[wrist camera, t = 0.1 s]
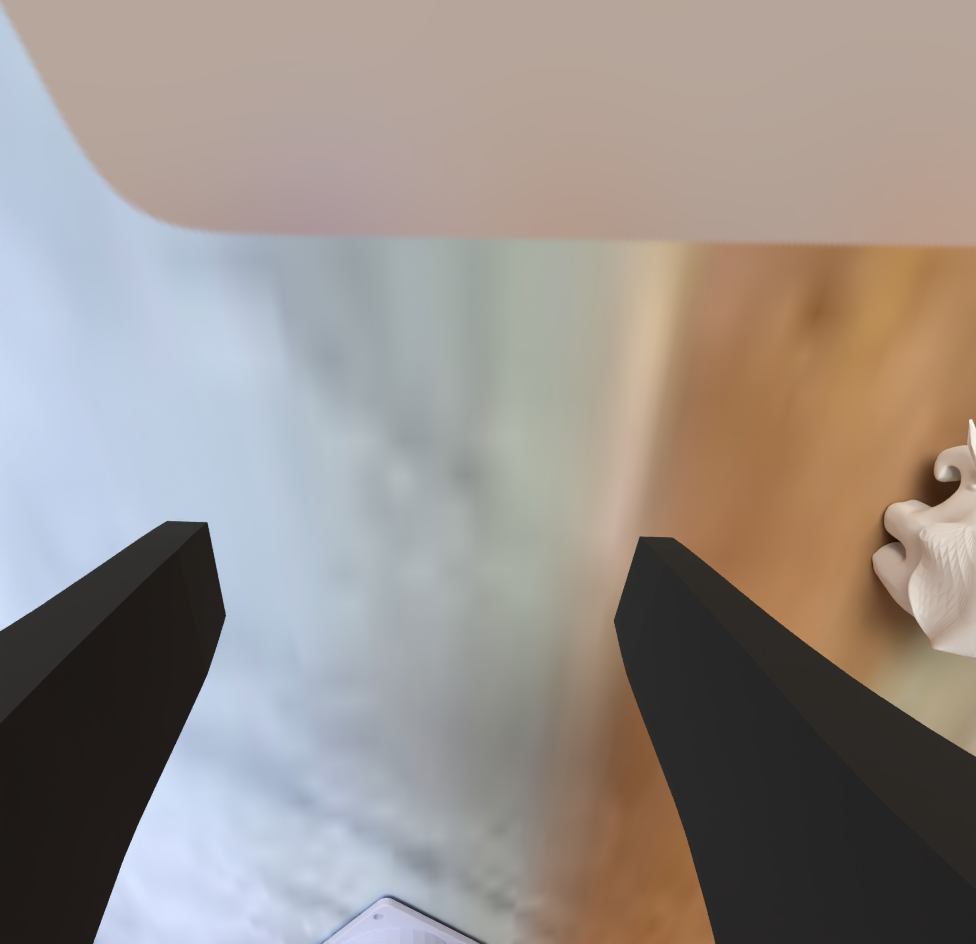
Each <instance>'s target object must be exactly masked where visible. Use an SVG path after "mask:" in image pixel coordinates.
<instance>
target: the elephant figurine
mask: <svg viewBox="0 0 976 944" xmlns="http://www.w3.org/2000/svg"><path fill="white" fill-rule="evenodd" d="M934 475H935V478H936V479H937V480H938V481H940V482H949V481H957V480H961V484H960V486H959V488H958V490H957V491H956V492H955V493H954V494H953V495H952V496H951V497H950V498H948V499H947V500H946V501H944V502H943V503H941V504H939V505H937V506H935V507H930V506H928V505H926V504H924V503H922V502H920V501H917V500H909V501H906V502H898V503H894V504H892V505H890V506H889V507H888V508H887V510H886V512H885V516H884V526H885V528H886V530H887V531H888V532H889V533H890V534H891V535H892V536H894V537H895V538H896V539H898V540H899V541H900V542H892V543H889V544H887V545H885V546H883V547H881V548H880V549H879V550H878V551H876V552H875V553H874V555H873V557H872V561H873V568H874V571H875V573H876V574H877V576H878V577H879V579H880V580H881V582H882V583H883V585H884V586H885V587H886V589H887V590H888V592H889V593H890V595H891V596H892V597H893V599H894V600H895V601H896V602H897V603H898V604H899V605H900V606H901V607H902V608H903V609H904V610H906V611H907V612H908V613H910V614H911V615H912V616H914V617H915V618H916V620H917V622H918V624H919V625H920V627H921V628H922V629H923V631H924V632H925V634H926V635H927V636H928V638H929V640H930V642H931V647H932V648H934V649H936V650H941V651H945V652H950V653H954V654H958V655H962V656H967V657H973V658H976V428H975V426H974V423H973V421H972V419H971V420H969V431H968V444H967V445H964V446H956V447H952V448H949V449H946V450H944V451H943V452H941V453H940V454H939V456H938V457H937V459H936V462H935V465H934Z"/></svg>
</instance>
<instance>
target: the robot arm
mask: <svg viewBox="0 0 976 944" xmlns="http://www.w3.org/2000/svg"><path fill="white" fill-rule="evenodd" d="M225 617H226V614H225V609H224V603H223V598H222V593H221V588H220V583H219V578H218V573H217V568H216V563H215V558H214V553H213V548H212V543H211V538H210V533H209V528H208V523H207V522H181V521H166V522H165V523H163V524H161V525H160V526H158V527H156V528H155V529H153V530H152V531H150V532H149V533H147V534H146V535H144V536H143V537H141V538H140V539H138V540H137V541H135V542H134V543H132V544H131V545H129V546H128V547H126V548H125V549H124V550H122V551H121V552H119V553H118V554H116V555H115V556H113V557H112V558H110V559H109V560H108V561H106V562H105V563H103V564H102V565H100V566H99V567H97V568H96V569H94V570H93V571H91V572H90V573H89V574H87V575H86V576H84V577H83V578H81V579H80V580H78V581H77V582H75V583H74V584H72V585H71V586H69V587H68V588H66V589H65V590H63V591H62V592H60V593H59V594H57V595H56V596H54V597H53V598H51V599H50V600H48V601H47V602H45V603H44V604H43V605H41V606H40V607H38V608H36V609H35V610H33V611H32V612H30V613H29V614H27V615H26V616H24V617H22V618H21V619H19V620H18V621H16V622H14V623H13V624H11V625H10V626H8V627H6V628H5V629H3V630H2V631H0V944H93V942H94V939H95V937H96V934H97V931H98V928H99V926H100V923H101V920H102V917H103V915H104V912H105V909H106V906H107V904H108V901H109V898H110V895H111V893H112V890H113V887H114V884H115V881H116V879H117V876H118V873H119V870H120V868H121V865H122V862H123V859H124V857H125V854H126V852H127V850H128V847H129V845H130V843H131V840H132V838H133V835H134V833H135V831H136V828H137V826H138V824H139V821H140V819H141V817H142V815H143V813H144V810H145V808H146V806H147V804H148V802H149V800H150V798H151V795H152V793H153V791H154V789H155V787H156V785H157V783H158V780H159V778H160V776H161V774H162V772H163V770H164V768H165V765H166V763H167V761H168V759H169V757H170V755H171V753H172V750H173V748H174V746H175V744H176V742H177V740H178V738H179V736H180V733H181V731H182V729H183V727H184V725H185V723H186V720H187V718H188V716H189V714H190V712H191V710H192V707H193V705H194V703H195V701H196V699H197V696H198V694H199V692H200V690H201V688H202V685H203V683H204V681H205V679H206V676H207V674H208V671H209V668H210V665H211V662H212V659H213V656H214V653H215V650H216V647H217V644H218V640H219V637H220V634H221V630H222V627H223V624H224V620H225ZM614 623H615V628H616V632H617V637H618V641H619V646H620V650H621V654H622V658H623V662H624V666H625V670H626V674H627V677H628V679H629V682H630V685H631V688H632V691H633V693H634V696H635V699H636V701H637V704H638V707H639V709H640V712H641V715H642V717H643V720H644V723H645V725H646V728H647V730H648V733H649V736H650V738H651V741H652V744H653V746H654V749H655V751H656V754H657V757H658V759H659V762H660V764H661V767H662V770H663V772H664V775H665V778H666V780H667V783H668V785H669V788H670V791H671V793H672V796H673V799H674V801H675V804H676V807H677V810H678V813H679V816H680V819H681V822H682V824H683V827H684V830H685V833H686V837H687V840H688V844H689V847H690V851H691V854H692V858H693V861H694V865H695V868H696V872H697V876H698V879H699V883H700V886H701V890H702V893H703V897H704V900H705V904H706V908H707V912H708V916H709V919H710V923H711V927H712V931H713V935H714V939H715V943H716V944H976V757H975V756H974V755H972V754H970V753H968V752H967V751H965V750H963V749H962V748H960V747H959V746H957V745H955V744H954V743H952V742H950V741H949V740H947V739H945V738H944V737H942V736H941V735H939V734H937V733H936V732H934V731H932V730H931V729H929V728H928V727H926V726H925V725H923V724H922V723H920V722H919V721H917V720H915V719H914V718H912V717H911V716H909V715H908V714H906V713H905V712H903V711H902V710H900V709H899V708H897V707H896V706H894V705H893V704H891V703H889V702H888V701H886V700H885V699H883V698H882V697H880V696H879V695H877V694H876V693H874V692H873V691H871V690H870V689H868V688H867V687H866V686H864V685H863V684H861V683H860V682H858V681H857V680H855V679H854V678H853V677H851V676H850V675H848V674H847V673H846V672H844V671H843V670H841V669H840V668H839V667H837V666H836V665H835V664H833V663H832V662H831V661H829V660H828V659H826V658H825V657H824V656H822V655H821V654H820V653H818V652H817V651H816V650H814V649H813V648H811V647H810V646H809V645H807V644H806V643H805V642H803V641H802V640H801V639H800V638H798V637H797V636H796V635H794V634H793V633H792V632H790V631H789V630H788V629H787V628H785V627H784V626H783V625H781V624H780V623H779V622H778V621H776V620H775V619H774V618H773V617H771V616H770V615H769V614H768V613H766V612H765V611H764V610H763V609H761V608H760V607H759V606H758V605H756V604H755V603H754V602H753V601H751V600H750V599H749V598H748V597H747V596H745V595H744V594H743V593H742V592H740V591H739V590H738V589H737V588H736V587H734V586H733V585H732V584H731V583H729V582H728V581H727V580H726V579H725V578H723V577H722V576H721V575H720V574H719V573H717V572H716V571H715V570H714V569H712V568H711V567H710V566H709V565H708V564H706V563H705V562H704V561H703V560H701V559H700V558H699V557H698V556H696V555H695V554H694V553H693V552H691V551H690V550H689V549H688V548H686V547H685V546H684V545H682V544H681V543H680V542H678V541H677V540H675V539H674V538H669V537H639V541H638V544H637V547H636V550H635V554H634V557H633V560H632V563H631V567H630V570H629V573H628V576H627V580H626V583H625V586H624V589H623V593H622V596H621V599H620V602H619V606H618V609H617V612H616V615H615V619H614ZM323 944H479V943H478V942H476V941H474V940H472V939H470V938H468V937H466V936H464V935H462V934H460V933H458V932H456V931H454V930H452V929H450V928H448V927H446V926H444V925H442V924H440V923H438V922H436V921H434V920H432V919H430V918H428V917H426V916H424V915H422V914H421V913H419V912H417V911H415V910H413V909H411V908H409V907H407V906H405V905H403V904H401V903H399V902H397V901H395V900H393V899H391V898H382V899H380V900H378V901H377V902H376V903H375V904H373V905H372V906H371V907H369V908H368V909H367V910H366V911H364V912H363V913H362V914H360V915H359V916H358V917H356V918H355V919H354V920H353V921H351V922H350V923H349V924H347V925H346V926H345V927H343V928H342V929H341V930H340V931H338V932H337V933H336V934H334V935H333V936H332V937H331V938H329V939H328V940H327V941H325V942H324V943H323Z"/></svg>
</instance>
